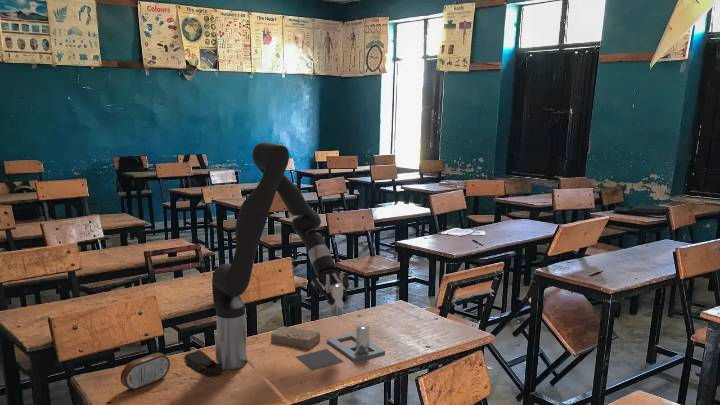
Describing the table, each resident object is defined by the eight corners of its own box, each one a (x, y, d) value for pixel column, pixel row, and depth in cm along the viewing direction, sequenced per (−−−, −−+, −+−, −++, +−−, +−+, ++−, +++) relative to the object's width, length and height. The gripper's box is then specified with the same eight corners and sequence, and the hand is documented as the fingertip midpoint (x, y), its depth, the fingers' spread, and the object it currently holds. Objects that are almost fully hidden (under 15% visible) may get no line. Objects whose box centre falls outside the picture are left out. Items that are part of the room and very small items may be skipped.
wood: (177, 358, 182) (176, 349, 181) (198, 352, 186) (197, 343, 186) (204, 382, 165) (203, 373, 164) (226, 375, 169) (226, 366, 169)
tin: (166, 373, 170) (165, 348, 168) (172, 376, 168) (171, 350, 167) (120, 391, 158) (119, 364, 157) (126, 395, 156) (124, 367, 155)
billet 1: (334, 316, 180) (333, 288, 179) (327, 312, 184) (326, 284, 183) (345, 313, 183) (345, 285, 181) (339, 309, 187) (338, 282, 185)
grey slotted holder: (355, 364, 176) (355, 359, 176) (327, 344, 192) (327, 339, 192) (384, 356, 183) (385, 351, 183) (355, 337, 199) (355, 332, 198)
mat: (311, 373, 170) (311, 370, 170) (295, 359, 180) (295, 356, 180) (344, 364, 177) (344, 361, 176) (326, 351, 187) (326, 348, 186)
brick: (269, 344, 193) (269, 332, 192) (282, 336, 201) (281, 324, 200) (309, 352, 186) (309, 340, 186) (321, 343, 194) (321, 331, 193)
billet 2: (360, 359, 181) (360, 331, 179) (353, 354, 184) (353, 326, 183) (371, 356, 183) (372, 328, 182) (364, 351, 187) (364, 324, 186)
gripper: (306, 257, 183) (324, 301, 175) (342, 251, 190) (361, 293, 182) (300, 269, 188) (317, 312, 180) (335, 262, 196) (353, 304, 188)
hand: (339, 302), depth 181 cm, fingers closed on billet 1, 4 cm apart
